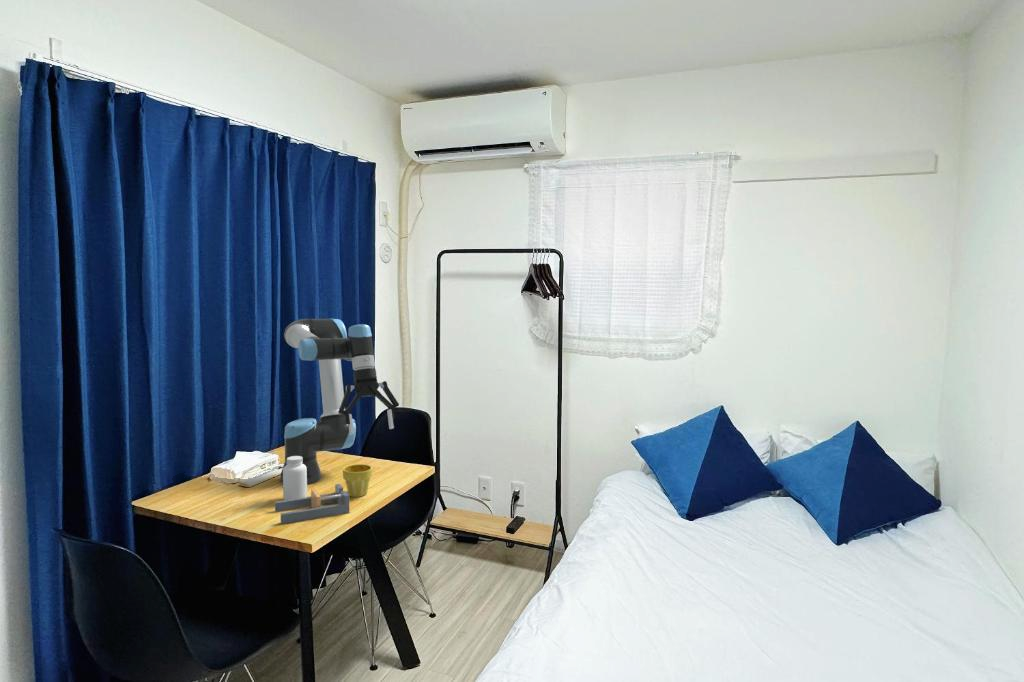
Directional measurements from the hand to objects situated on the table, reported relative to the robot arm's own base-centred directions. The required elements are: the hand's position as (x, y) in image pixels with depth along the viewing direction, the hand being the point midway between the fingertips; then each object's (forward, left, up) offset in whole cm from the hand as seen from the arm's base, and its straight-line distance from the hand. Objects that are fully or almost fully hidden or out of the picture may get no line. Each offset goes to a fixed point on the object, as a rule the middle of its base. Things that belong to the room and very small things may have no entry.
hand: (372, 431), depth 198 cm
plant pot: (-11, +14, -27) cm, 33 cm away
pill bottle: (-30, +4, -27) cm, 41 cm away
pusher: (-14, -2, -27) cm, 31 cm away
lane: (-19, -6, -27) cm, 34 cm away
